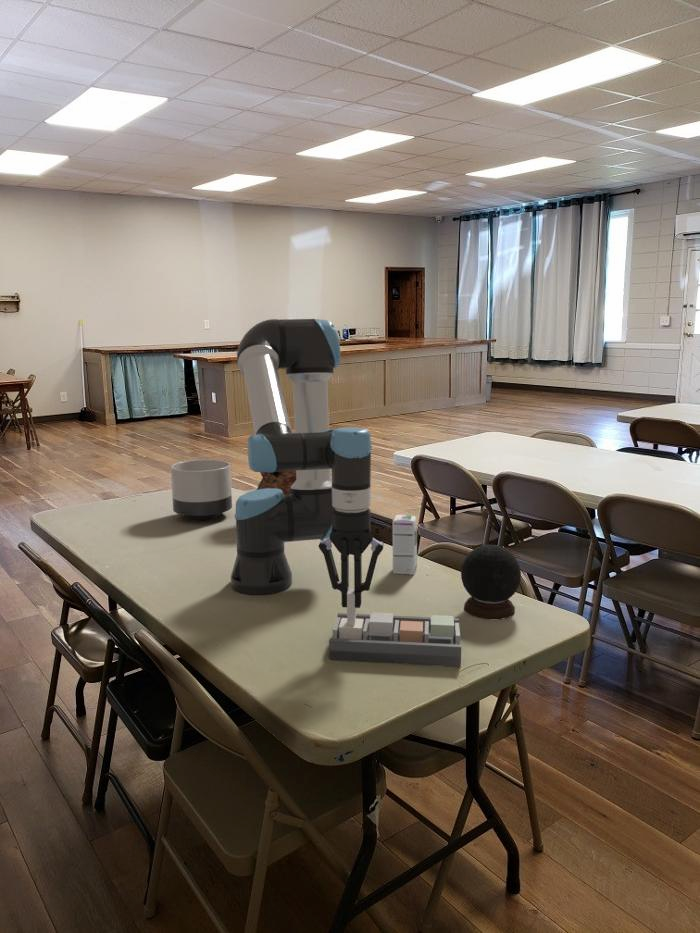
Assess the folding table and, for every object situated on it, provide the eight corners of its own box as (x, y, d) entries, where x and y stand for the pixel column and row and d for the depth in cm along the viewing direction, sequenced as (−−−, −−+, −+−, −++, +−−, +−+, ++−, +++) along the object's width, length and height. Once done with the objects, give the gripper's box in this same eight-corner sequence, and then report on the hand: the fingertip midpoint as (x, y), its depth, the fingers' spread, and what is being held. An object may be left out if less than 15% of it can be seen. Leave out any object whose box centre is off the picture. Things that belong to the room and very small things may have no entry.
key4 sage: (430, 636, 136) (430, 624, 136) (430, 626, 141) (430, 615, 140) (453, 637, 136) (454, 625, 135) (453, 627, 140) (453, 616, 140)
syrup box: (414, 575, 180) (415, 520, 177) (391, 573, 181) (392, 519, 178) (417, 567, 185) (417, 515, 182) (394, 566, 186) (395, 513, 183)
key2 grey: (369, 633, 138) (369, 621, 137) (371, 623, 142) (371, 612, 142) (392, 634, 137) (392, 622, 137) (393, 624, 142) (393, 613, 141)
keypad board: (329, 659, 135) (329, 638, 134) (338, 630, 147) (338, 611, 146) (460, 666, 132) (461, 645, 131) (458, 636, 145) (458, 616, 144)
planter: (226, 525, 225) (224, 471, 221) (166, 525, 225) (163, 471, 222) (236, 509, 244) (235, 459, 240) (181, 509, 244) (179, 459, 240)
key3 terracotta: (399, 641, 137) (399, 630, 137) (400, 631, 142) (400, 620, 141) (422, 642, 137) (422, 631, 136) (422, 632, 141) (423, 621, 141)
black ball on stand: (481, 625, 150) (483, 558, 147) (448, 603, 162) (450, 541, 159) (531, 615, 155) (534, 550, 152) (496, 594, 167) (499, 534, 164)
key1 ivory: (339, 638, 139) (338, 627, 138) (341, 628, 143) (341, 617, 143) (361, 639, 138) (361, 628, 138) (363, 629, 143) (363, 618, 142)
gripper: (314, 512, 132) (316, 628, 137) (383, 513, 131) (382, 631, 136) (320, 502, 140) (322, 613, 144) (386, 503, 138) (385, 615, 143)
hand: (351, 622), depth 140 cm, fingers closed
